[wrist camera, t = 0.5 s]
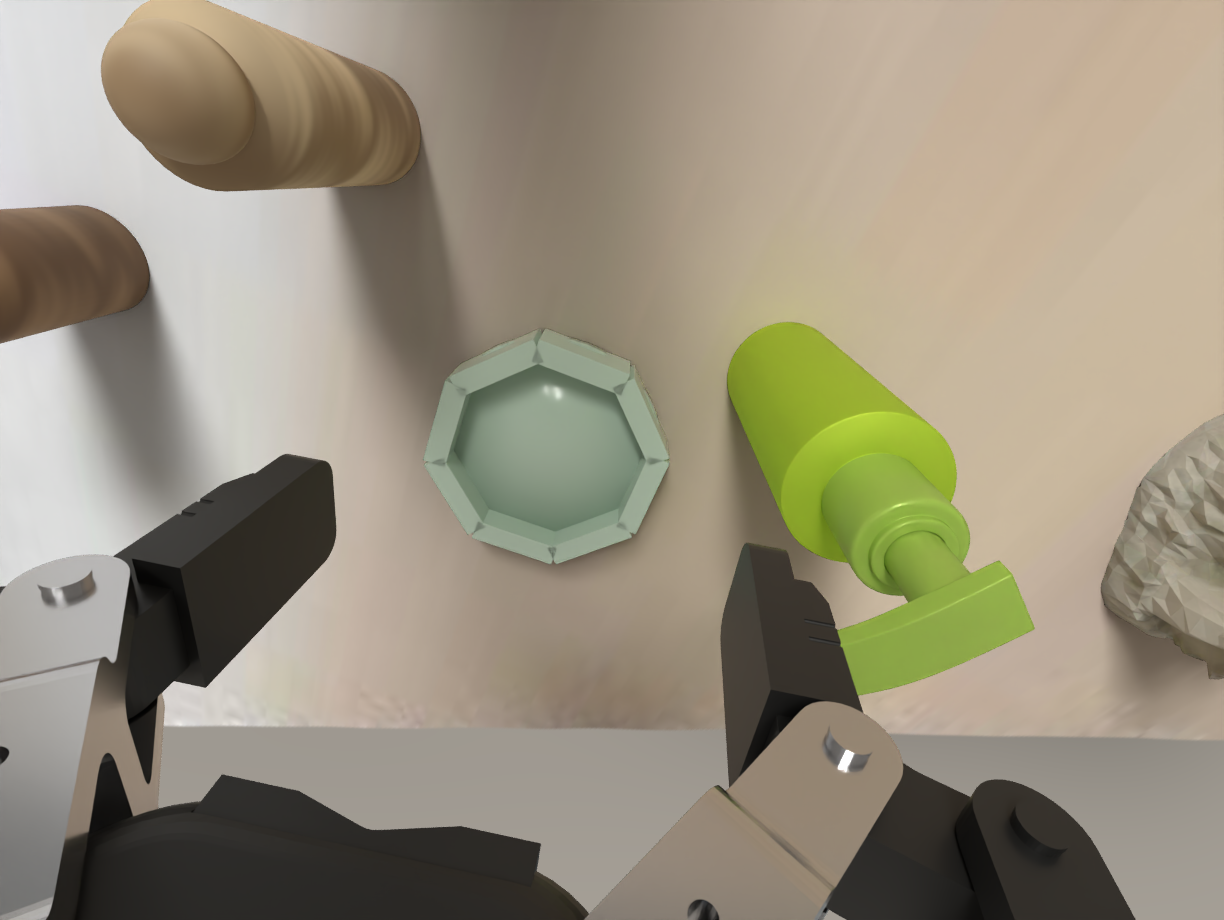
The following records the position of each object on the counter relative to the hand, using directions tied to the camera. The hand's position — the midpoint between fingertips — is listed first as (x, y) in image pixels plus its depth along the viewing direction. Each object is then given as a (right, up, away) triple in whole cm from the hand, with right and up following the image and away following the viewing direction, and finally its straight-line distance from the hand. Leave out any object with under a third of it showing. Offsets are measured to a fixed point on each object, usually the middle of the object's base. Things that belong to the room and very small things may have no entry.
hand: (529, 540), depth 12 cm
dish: (-2, +2, +23) cm, 23 cm away
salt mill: (-10, +17, +16) cm, 25 cm away
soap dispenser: (+10, +6, +21) cm, 24 cm away
